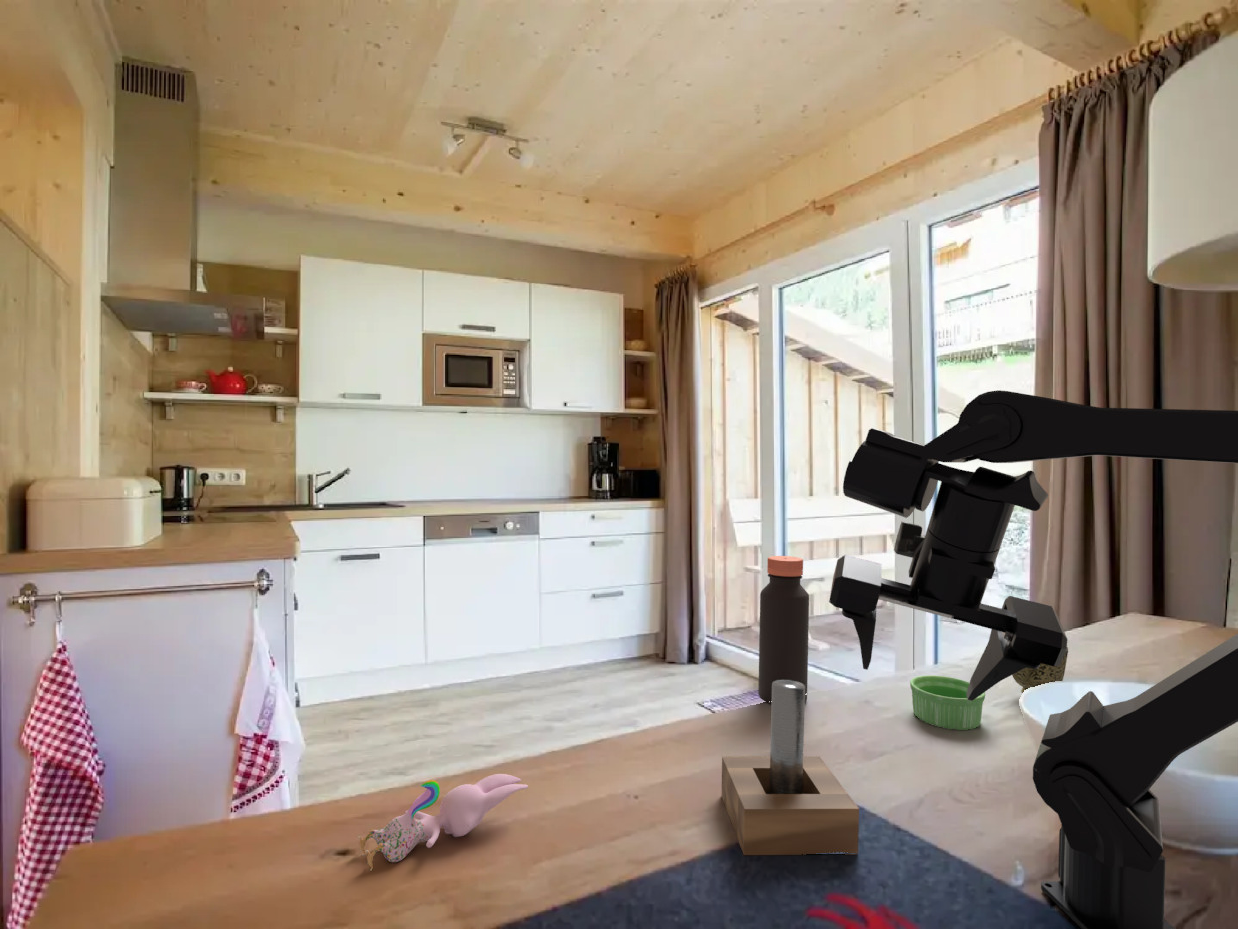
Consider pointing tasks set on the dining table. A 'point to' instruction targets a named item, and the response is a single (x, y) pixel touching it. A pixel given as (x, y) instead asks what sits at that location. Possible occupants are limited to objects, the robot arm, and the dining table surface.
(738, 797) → the walnut square frame
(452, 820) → the rabbit figure
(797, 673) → the bottle
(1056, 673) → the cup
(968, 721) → the ramekin
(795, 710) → the steel rod
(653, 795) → the dining table surface
